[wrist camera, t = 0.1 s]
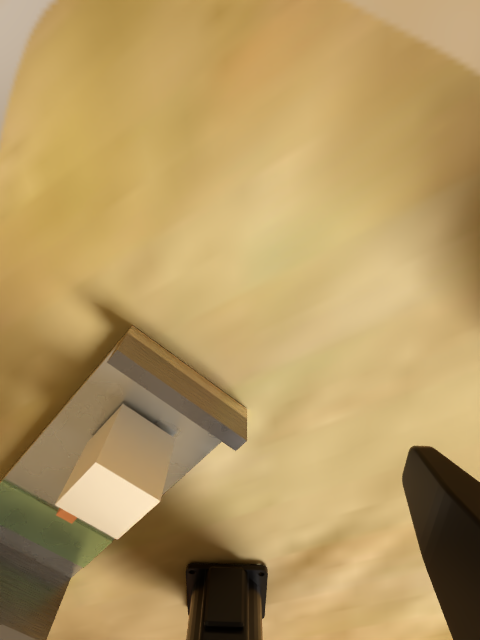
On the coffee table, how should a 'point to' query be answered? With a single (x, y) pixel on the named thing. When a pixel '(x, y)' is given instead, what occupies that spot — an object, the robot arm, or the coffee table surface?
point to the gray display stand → (62, 455)
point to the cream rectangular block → (118, 474)
